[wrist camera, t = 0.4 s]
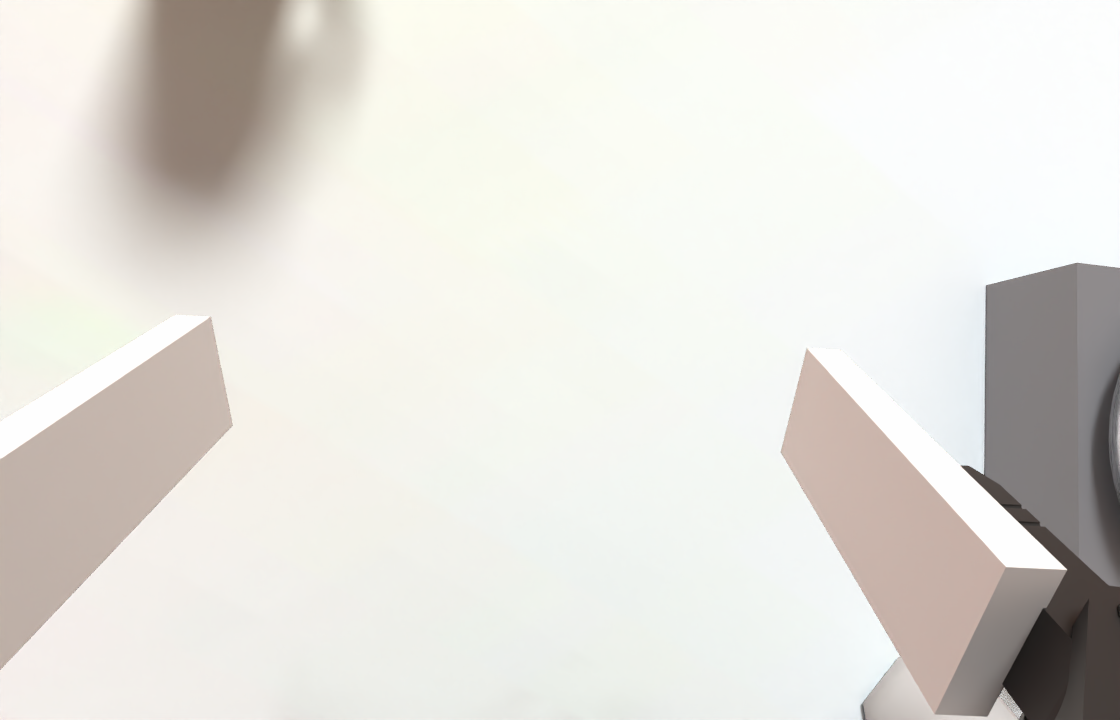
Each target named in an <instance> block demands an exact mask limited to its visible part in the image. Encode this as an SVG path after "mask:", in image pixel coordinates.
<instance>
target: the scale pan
mask: <svg viewBox="0 0 1120 720" xmlns="http://www.w3.org/2000/svg"><path fill="white" fill-rule="evenodd" d="M1109 453H1110V464H1111V470H1112V475H1113V481H1114V486H1115V489H1116V493H1117V496H1118V499H1119V503H1120V374H1119V377H1118V381H1117V384H1116V387H1115V391H1114V394H1113V400H1112V406H1111V412H1110V420H1109Z"/></svg>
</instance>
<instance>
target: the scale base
mask: <svg viewBox="0 0 1120 720" xmlns="http://www.w3.org/2000/svg"><path fill="white" fill-rule="evenodd" d="M1119 374H1120V268H1115V267H1107V266H1099V265H1090V264H1082V263H1074V264H1070V265H1066V266H1062V267H1058V268H1054V269H1050V270H1046V271H1042V272H1038V273H1034V274H1030V275H1026V276H1022V277H1018V278H1014V279H1010V280H1006V281H1002V282H998V283H994V284H990V285H986V411H985V476H986V477H988V478H990V479H991V480H993V481H995V482H996V483H998V484H1000V485H1001V486H1002V487H1003V488H1004V489H1005V490H1006V491H1007V492H1008V493H1009V494H1010V495H1011V496H1013V497H1014V498H1015V499H1016V500H1017V501H1018V502H1019V503H1020V504H1021V505H1022V506H1021V507H1022V509H1027V510H1028V511H1029V512H1030V513H1031V514H1032V515H1033V516H1034V517H1035V518H1036V519H1037V520H1038V521H1040V526H1041V527H1046V528H1047V529H1048V530H1049V531H1050V532H1051V533H1052V534H1054V535H1055V536H1056V537H1057V538H1058V539H1059V540H1060V541H1061V542H1062V543H1063V544H1064V545H1065V546H1066V547H1068V548H1069V549H1070V550H1071V551H1072V552H1073V553H1074V554H1075V555H1076V556H1077V557H1078V558H1079V559H1081V560H1082V561H1083V562H1084V563H1085V564H1086V565H1087V566H1088V567H1089V568H1090V569H1091V570H1092V571H1093V572H1095V573H1096V574H1097V575H1098V576H1099V577H1100V578H1101V579H1102V580H1103V581H1104V582H1105V583H1106V584H1107V585H1109V586H1117V587H1120V503H1119V499H1118V496H1117V493H1116V489H1115V486H1114V481H1113V475H1112V470H1111V464H1110V453H1109V420H1110V412H1111V406H1112V400H1113V394H1114V391H1115V387H1116V384H1117V381H1118V377H1119Z"/></svg>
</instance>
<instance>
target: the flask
mask: <svg viewBox="0 0 1120 720" xmlns="http://www.w3.org/2000/svg"><path fill="white" fill-rule="evenodd" d="M863 707H864V712H865V718H866V720H1019V719H1018V717H1017V716H1016V715H1015V714H1014V713H1013V712H1012V710H1011V709H1010V708H1009V707H1008V706H1007V705H1006V704H1005V702H1004V701H1003V700H1002V699H1001V698H1000V697H998V698H997V700H996V702H995V704H994V706H993V708H992V709H991V711H990V713H989V715H988V717H983V716H958V715H934V713H933V711H932V709H931V708H930V706H929V704H928V703H927V701H926V699H925V697H924V696H923V694H922V692H921V691H920V689H919V687H918V686H917V684H916V682H915V680H914V679H913V677H912V675H911V674H910V672H909V670H908V668H907V667H906V665H905V663H904V662H903V660H902V658H901V657H898V658H897V660H896V661H895V662H894V663H893V665H892V666H891V667H890V669H889V670H888V671H887V672H886V674H885V675H884V676H883V678H882V679H881V680H880V681H879V683H878V684H877V685H876V686H875V688H874V689H873V690H872V692H871V693H870V694H869V695H868V697H867V698H866V699H865V701H864V702H863Z"/></svg>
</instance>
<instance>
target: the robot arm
mask: <svg viewBox="0 0 1120 720" xmlns="http://www.w3.org/2000/svg"><path fill="white" fill-rule="evenodd" d="M232 426H233V424H232V419H231V414H230V409H229V404H228V399H227V394H226V389H225V384H224V380H223V375H222V370H221V365H220V360H219V355H218V350H217V345H216V340H215V335H214V330H213V325H212V320H211V317H207V316H188V315H174V316H173V317H171V318H169V319H168V320H166V321H164V322H163V323H161V324H159V325H158V326H156V327H154V328H153V329H151V330H150V331H148V332H146V333H145V334H143V335H141V336H140V337H138V338H136V339H135V340H133V341H132V342H130V343H128V344H127V345H125V346H123V347H122V348H120V349H118V350H117V351H115V352H114V353H112V354H110V355H109V356H107V357H105V358H104V359H102V360H100V361H99V362H97V363H95V364H94V365H92V366H91V367H89V368H87V369H86V370H84V371H82V372H81V373H79V374H77V375H76V376H74V377H73V378H71V379H69V380H68V381H66V382H64V383H63V384H61V385H59V386H58V387H56V388H54V389H53V390H51V391H50V392H48V393H46V394H45V395H43V396H41V397H40V398H38V399H36V400H35V401H33V402H32V403H30V404H28V405H27V406H25V407H23V408H22V409H20V410H18V411H17V412H15V413H13V414H12V415H10V416H9V417H7V418H5V419H4V420H2V421H0V670H1V669H2V668H3V667H4V665H5V664H6V663H7V662H8V661H9V660H10V659H11V658H12V657H13V656H14V655H15V654H16V653H17V652H18V651H19V650H20V649H21V648H22V647H23V645H24V644H25V643H26V642H27V641H28V640H29V639H30V638H31V637H32V636H33V635H34V634H35V633H36V632H37V631H38V630H39V629H40V628H41V627H42V625H43V624H44V623H45V622H46V621H47V620H48V619H49V618H50V617H51V616H52V615H53V614H54V613H55V612H56V611H57V610H58V609H59V608H60V607H61V606H62V604H63V603H64V602H65V601H66V600H67V599H68V598H69V597H70V596H71V595H72V594H73V593H74V592H75V591H76V590H77V589H78V588H79V587H80V586H81V584H82V583H83V582H84V581H85V580H86V579H87V578H88V577H89V576H90V575H91V574H92V573H93V572H94V571H95V570H96V569H97V568H98V567H99V566H100V564H101V563H102V562H103V561H104V560H105V559H106V558H107V557H108V556H109V555H110V554H111V553H112V552H113V551H114V550H115V549H116V548H117V547H118V546H119V544H120V543H121V542H122V541H123V540H124V539H125V538H126V537H127V536H128V535H129V534H130V533H131V532H132V531H133V530H134V529H135V528H136V527H137V526H138V525H139V523H140V522H141V521H142V520H143V519H144V518H145V517H146V516H147V515H148V514H149V513H150V512H151V511H152V510H153V509H154V508H155V507H156V506H157V505H158V503H159V502H160V501H161V500H162V499H163V498H164V497H165V496H166V495H167V494H168V493H169V492H170V491H171V490H172V489H173V488H174V487H175V486H176V485H177V483H178V482H179V481H180V480H181V479H182V478H183V477H184V476H185V475H186V474H187V473H188V472H189V471H190V470H191V469H192V468H193V467H194V466H195V465H196V463H197V462H198V461H199V460H200V459H201V458H202V457H203V456H204V455H205V454H206V453H207V452H208V451H209V450H210V449H211V448H212V447H213V446H214V445H215V444H216V442H217V441H218V440H219V439H220V438H221V437H222V436H223V435H224V434H225V433H226V432H227V431H228V430H229V429H230V428H231V427H232ZM781 453H782V455H783V457H784V458H785V460H786V462H787V464H788V465H789V467H790V469H791V470H792V472H793V474H794V476H795V477H796V479H797V481H798V482H799V484H800V486H801V488H802V489H803V491H804V493H805V494H806V496H807V498H808V499H809V501H810V503H811V505H812V506H813V508H814V510H815V511H816V513H817V515H818V517H819V518H820V520H821V522H822V523H823V525H824V527H825V528H826V530H827V532H828V534H829V535H830V537H831V539H832V540H833V542H834V544H835V546H836V547H837V549H838V551H839V552H840V554H841V556H842V557H843V559H844V561H845V563H846V564H847V566H848V568H849V569H850V571H851V573H852V575H853V576H854V578H855V580H856V581H857V583H858V585H859V587H860V588H861V590H862V592H863V593H864V595H865V597H866V598H867V600H868V602H869V604H870V605H871V607H872V609H873V610H874V612H875V614H876V616H877V617H878V619H879V621H880V622H881V624H882V626H883V627H884V629H885V631H886V633H887V634H888V636H889V638H890V639H891V641H892V643H893V645H894V646H895V648H896V650H897V651H898V653H899V655H900V656H901V658H902V660H903V662H904V663H905V665H906V667H907V668H908V670H909V672H910V674H911V675H912V677H913V679H914V680H915V682H916V684H917V686H918V687H919V689H920V691H921V692H922V694H923V696H924V697H925V699H926V701H927V703H928V704H929V706H930V708H931V709H932V711H933V713H934V715H958V716H983V717H988V715H989V713H990V711H991V709H992V708H993V706H994V704H995V702H996V700H997V698H998V697H999V695H1000V693H1001V691H1002V689H1003V687H1005V689H1006V690H1007V691H1008V693H1009V694H1010V696H1011V697H1012V698H1013V700H1014V701H1015V702H1016V704H1017V705H1018V707H1019V708H1020V709H1021V711H1022V712H1023V713H1022V715H1021V716H1020V718H1019V720H1120V587H1117V586H1109V585H1107V584H1106V583H1105V582H1104V581H1103V580H1102V579H1101V578H1100V577H1099V576H1098V575H1097V574H1096V573H1095V572H1093V571H1092V570H1091V569H1090V568H1089V567H1088V566H1087V565H1086V564H1085V563H1084V562H1083V561H1082V560H1081V559H1079V558H1078V557H1077V556H1076V555H1075V554H1074V553H1073V552H1072V551H1071V550H1070V549H1069V548H1068V547H1066V546H1065V545H1064V544H1063V543H1062V542H1061V541H1060V540H1059V539H1058V538H1057V537H1056V536H1055V535H1054V534H1052V533H1051V532H1050V531H1049V530H1048V529H1047V528H1046V527H1041V526H1040V521H1038V520H1037V519H1036V518H1035V517H1034V516H1033V515H1032V514H1031V513H1030V512H1029V511H1028V510H1027V509H1022V507H1021V506H1022V505H1021V504H1020V503H1019V502H1018V501H1017V500H1016V499H1015V498H1014V497H1013V496H1011V495H1010V494H1009V493H1008V492H1007V491H1006V490H1005V489H1004V488H1003V487H1002V486H1001V485H1000V484H998V483H996V482H995V481H993V480H991V479H990V478H988V477H986V476H985V475H983V474H981V473H980V472H978V471H976V470H975V469H973V468H971V467H970V466H960V465H959V464H958V463H957V462H956V461H955V460H954V459H953V458H952V457H951V456H950V455H949V454H948V453H947V452H945V451H944V450H943V449H942V448H941V447H940V446H939V445H938V444H937V443H936V442H935V441H934V440H933V439H932V438H931V437H930V436H929V435H928V434H927V433H926V432H925V431H924V430H923V429H922V428H921V427H920V426H919V425H918V424H917V423H916V422H915V421H914V420H913V419H912V418H911V417H909V416H908V415H907V414H906V413H905V412H904V411H903V410H902V409H901V408H900V407H899V406H898V405H897V404H896V403H895V402H894V401H893V400H892V399H891V398H890V397H889V396H888V395H887V394H886V393H885V392H884V391H883V390H882V389H881V388H880V387H879V386H878V385H877V384H876V383H874V382H873V381H872V380H871V379H870V378H869V377H868V376H867V375H866V374H865V373H864V372H863V371H862V370H861V369H860V368H859V367H858V366H857V365H856V364H855V363H854V362H853V361H852V360H851V359H850V358H849V357H848V356H847V355H846V354H845V353H844V352H843V351H842V350H835V349H816V348H807V349H806V353H805V357H804V361H803V365H802V369H801V373H800V377H799V381H798V385H797V389H796V393H795V397H794V401H793V405H792V409H791V413H790V417H789V421H788V425H787V429H786V433H785V437H784V441H783V445H782V449H781Z"/></svg>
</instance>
